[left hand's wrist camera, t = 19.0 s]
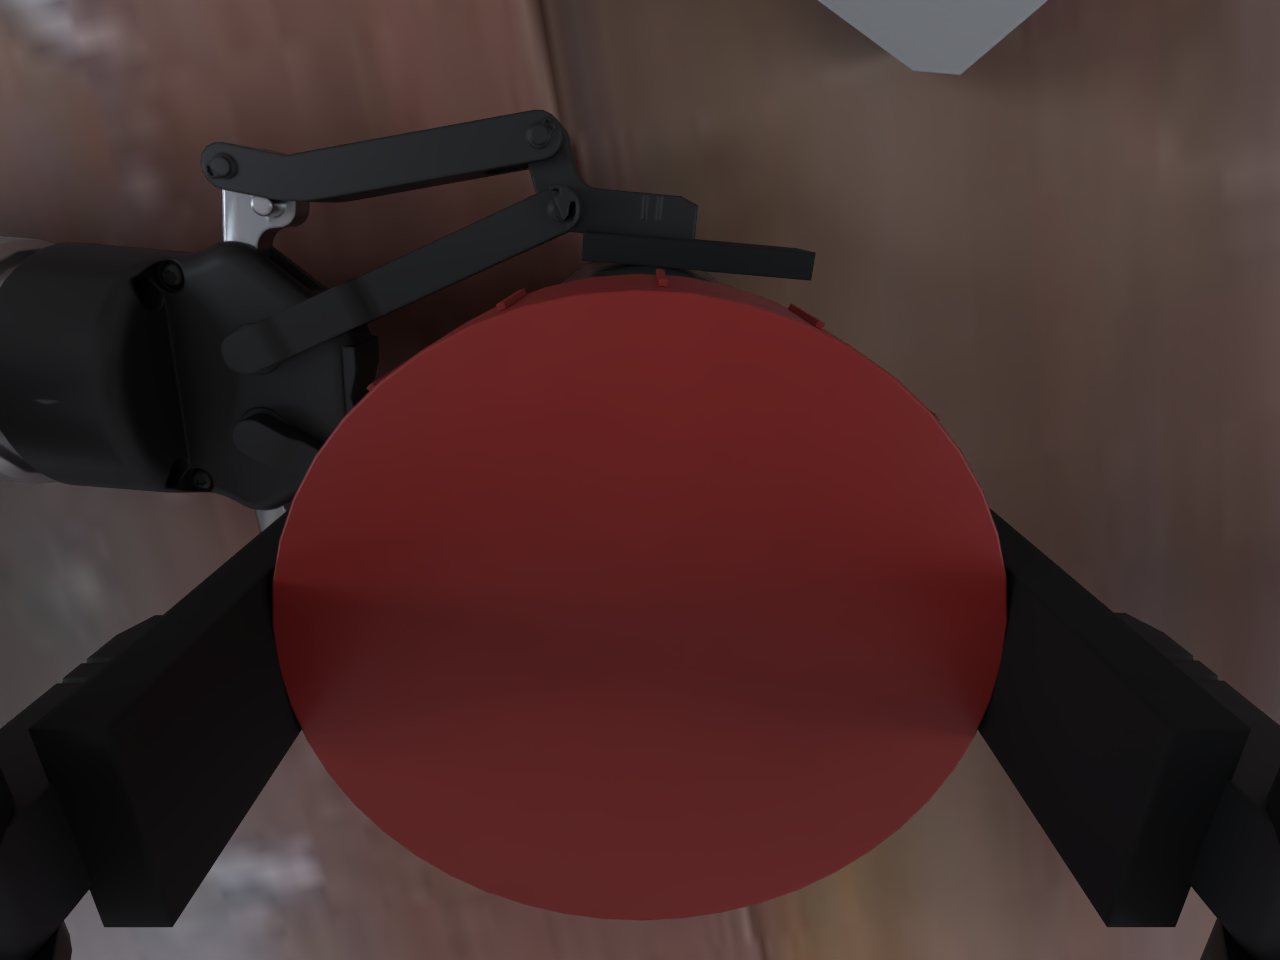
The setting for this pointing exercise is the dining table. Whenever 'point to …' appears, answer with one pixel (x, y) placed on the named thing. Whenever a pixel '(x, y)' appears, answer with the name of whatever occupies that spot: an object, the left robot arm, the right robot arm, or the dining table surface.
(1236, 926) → the left robot arm
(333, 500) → the lid
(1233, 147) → the dining table surface
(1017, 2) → the electronic device
